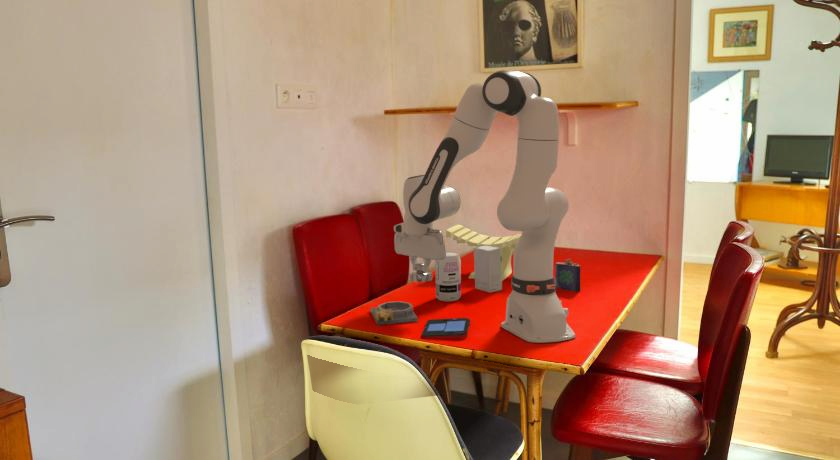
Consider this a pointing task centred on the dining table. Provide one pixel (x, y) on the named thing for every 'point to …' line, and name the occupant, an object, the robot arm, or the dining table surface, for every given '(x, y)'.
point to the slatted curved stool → (481, 240)
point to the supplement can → (448, 277)
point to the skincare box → (487, 268)
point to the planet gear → (420, 274)
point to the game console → (446, 328)
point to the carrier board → (393, 313)
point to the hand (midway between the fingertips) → (420, 270)
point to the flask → (567, 276)
